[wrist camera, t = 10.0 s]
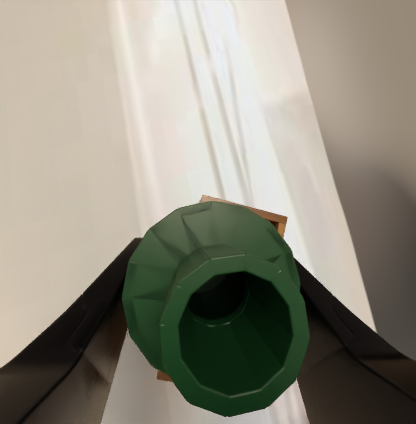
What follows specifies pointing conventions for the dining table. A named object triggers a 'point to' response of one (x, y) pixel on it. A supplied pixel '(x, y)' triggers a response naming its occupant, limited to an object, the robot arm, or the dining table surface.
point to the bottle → (218, 307)
